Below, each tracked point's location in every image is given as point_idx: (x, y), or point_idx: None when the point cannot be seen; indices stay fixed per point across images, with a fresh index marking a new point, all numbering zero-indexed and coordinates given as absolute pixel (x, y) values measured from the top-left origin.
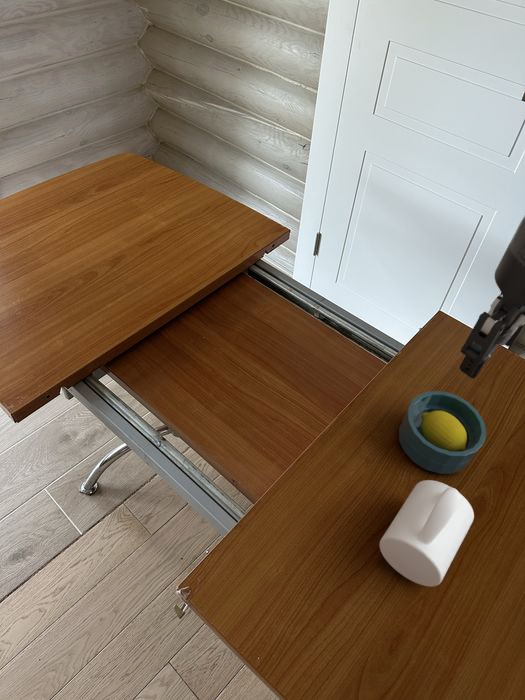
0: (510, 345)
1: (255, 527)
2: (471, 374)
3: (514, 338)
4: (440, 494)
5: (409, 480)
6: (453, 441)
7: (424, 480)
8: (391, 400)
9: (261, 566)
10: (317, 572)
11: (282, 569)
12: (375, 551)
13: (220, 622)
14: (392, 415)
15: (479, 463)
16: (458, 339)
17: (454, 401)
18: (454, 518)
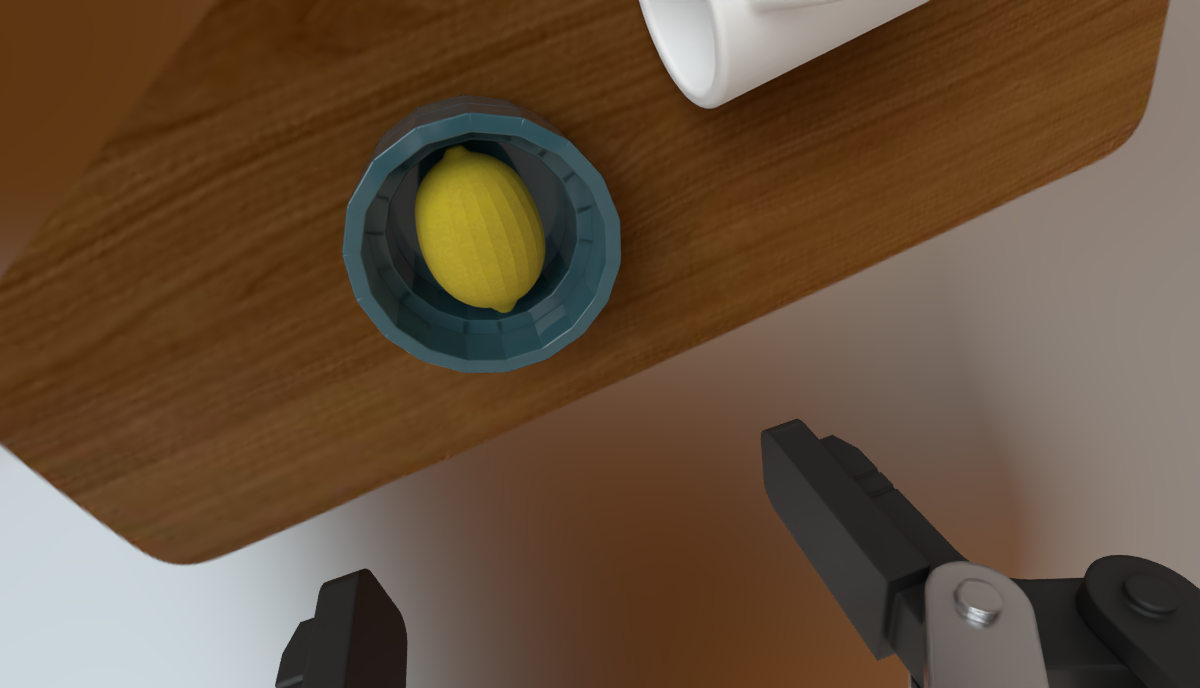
0: (360, 578)
1: (978, 193)
2: (856, 450)
3: (352, 647)
4: (770, 15)
5: (625, 142)
6: (503, 186)
7: (718, 101)
8: None
9: (1030, 111)
10: (970, 36)
11: (1010, 83)
12: None
13: (1152, 46)
14: None
15: (373, 90)
16: (154, 501)
17: (394, 316)
18: None
